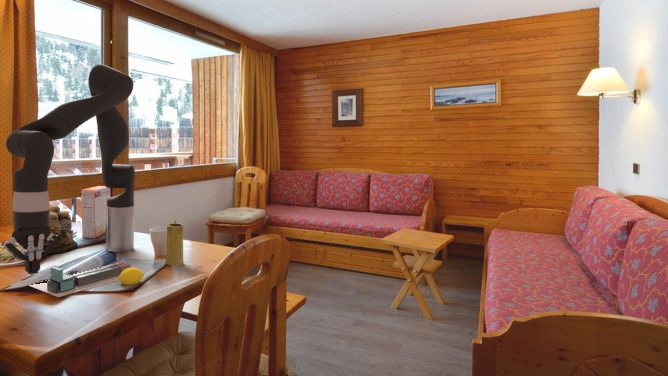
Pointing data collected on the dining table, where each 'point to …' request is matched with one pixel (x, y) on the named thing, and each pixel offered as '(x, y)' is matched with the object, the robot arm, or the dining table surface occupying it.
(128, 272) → the lemon
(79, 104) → the robot arm
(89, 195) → the cracker box
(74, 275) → the jaw
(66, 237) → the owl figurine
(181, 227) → the green pillar candle
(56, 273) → the lock collar
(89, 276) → the tongs base
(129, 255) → the dining table surface
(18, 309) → the dining table surface
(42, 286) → the mat
